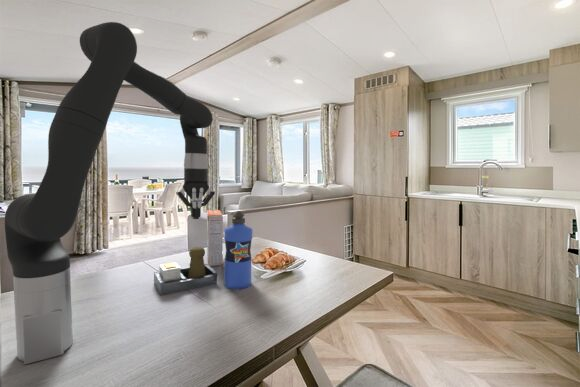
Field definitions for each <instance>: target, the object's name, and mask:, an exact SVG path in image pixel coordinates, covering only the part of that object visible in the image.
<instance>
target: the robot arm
mask: <svg viewBox="0 0 580 387" xmlns="http://www.w3.org/2000/svg"><path fill="white" fill-rule="evenodd" d="M79 47H80V48H81V51H82V52H83V55H84V56H85V57H86V58H87V60H89V61H90V64H89V67H88V68H87V69H86V71H85V72H84V74H83V75H82V76H81V78H79V80H78V81H77V82H76V83H75V84H74V85H73V86H72V87H71V88H70V90H69V91H68V92H67V93H66V94H65V96H64V97H63V99H62V100H61V102H60V103H59V105H58V106H57V110H56V112H55V115H54V117H53V119H52V121H51V124H50V127H49V130H48V135H47V137H48V139H47V140H48V141H47V143H48V144H47V146H48V148H47V149H48V150H47V152H48V153H47V154H48V155H47V156H48V158H47V166H46V170H45V172H44V176H43V178H42V179H41V182H40V184H39V187H38V188H37V190H36V192H35V193H27V194H23V195H20V196H18V197H16V198H15V199H13V201H11V202H10V204H9V205H8V206H7V208H6V210H5V213H4V214H5V215H4V232H5V242H6V244H5V245H6V252H7V253H6V254H7V258H8V261H9V263H10V265H11V268H12V278H13V279H12V280H13V282H12V283H13V296H14V297H13V298H14V299H13V300H14V321H15V337H16V353H17V354H16V355H17V359H18V360H19V361H21V362H23V365H28V364H33V363H35V362H40V361H43V360H48V359H51V358H55V357H59V356H62V355H64V352H66V350H68V349H69V348H70V347H71V346H72V345H73V344H74V343H73V342H74V339H73V338H74V336H73V335H74V334H73V332H74V331H73V310H72V309H73V308H72V285H71V284H72V283H71V280H72V279H71V258H70V254H69V253H68V251H67V250H66V249H65V248H64V245H63V243H62V241H61V238H62V237H65V235H67V234H68V233H69V232H70V230H71V229H72V228H73V226H74V224H75V221H76V219H77V215H78V211H79V207H80V203H81V198H82V195H83V190H84V188H85V187H84V186H85V183H86V180H87V176H88V175H89V172H90V169H91V166H92V163H93V161H94V159H95V156H96V153H97V150H98V147H99V146H100V143H101V141H102V138H103V135H104V133H105V130H106V128H107V124H108V121H109V118H110V115H111V113H112V111H113V109H114V106H115V103H116V100H117V97H118V95H119V91H120V89H121V87H122V85H123V83H124V82H126V83H128V84H130V85H131V86H133V87H135V88H136V89H138V90H140V91H141V92H142V93H144V94H146V95H148V96H149V97H151V98H152V99H154V100H155V101H156V102H157V103H159V104H160V105H161V106H163V107H164V108H165V109H167V110H168V111H169V112H171V113H172V114H174V115H176V116H177V115H178V116H179V123H180V128H181V131H182V135H183V140H184V161H183V170H184V172H183V174H184V175H183V185H182V188H181V189H180V190H179V191H178V190H177V191H176V193H175V194H176V195H177V197H178V198H179V199H180V201H182V203H183V204H184V205H185V206H187V207H189V208H190V216H191V218H192V219H193V220H199V219H200V218H201V216H202V215H201V213H202V212H201V208H202V207H206V206H207V205H208V203H210V201H211V199H212V198H213V196H215V194H216V193H215V191H214V190H212V189H211V188H210V186H209V183H208V181H209V180H208V179H209V178H208V177H209V176H208V174H209V173H208V172H209V169H208V168H209V164H208V163H209V162H208V140H207V138H206V137H205V136H202V135H199V131H198V129H206V128H209V127H210V126H211V125H212V123H213V118H214V117H213V114H212V112H211V110H210V108H208V106H206V105H205V104H204V103H202V102H200V101H199V100H197V99H195V98H194V97H191V96H188V95H187V94H186V93H185V92H184V91H182V90H181V89H180V88H179V87H178V86H177V85H176V84H174V83H173V82H172V81H171V80H169V79H167V78H166V77H164V76H162V75H159V74H158V73H156V72H154V71H151V70H149V69H147V68H145V67H143V66H142V65H141V64H139V63H137V61H135V59H136V58H137V54H138V43H137V40H136V37H135V34H134V33H133V31H132V30H131V29H130V28H129V27H128V26H126V24H123V23H121V22H118V21H117V22H116V21H108V22H107V21H106V22H102V23H98V24H97V25H96V24H95V25H93V26H90V27H88V28H86V29H84V30H83V31H82V32H81V33H80V37H79ZM186 194H187V197H189V200H188V199H187V197H186V196H185V195H186ZM203 197H204V198H203Z"/></svg>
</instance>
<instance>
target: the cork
mask: <svg viewBox="0 0 580 387" xmlns="http://www.w3.org/2000/svg"><path fill="white" fill-rule="evenodd" d="M188 252H189V254H188V255H189V258H190V263H189V267H190V268H189V276H188V279H192V278H198V277H203V276H206V274H205V266H204V264H205V260H204V257H205V255H206V254H205V253H206V251H205V248H204V247H201V246H194V247H192V248H190V249H189V251H188Z"/></svg>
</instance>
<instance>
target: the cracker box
mask: <svg viewBox="0 0 580 387" xmlns="http://www.w3.org/2000/svg"><path fill="white" fill-rule="evenodd" d="M223 218H224V217H223V214H222V212H221V210H220V209H209V210H206V245H207V246H206V247H207V249H206V251H207V252H206V253H207V254H206V255H207V262H208V264H207V265H209V266H210V267H217V266H220V267H221V266H223V265H224V264H223V261H224V260H223V254H222V251H223V249H224V246H223V238H224V237H223V236H224V233H223V231H224V230H223V224H224V222H223Z"/></svg>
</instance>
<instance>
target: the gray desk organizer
mask: <svg viewBox="0 0 580 387" xmlns="http://www.w3.org/2000/svg"><path fill="white" fill-rule="evenodd" d="M204 266H205V274H206V276H203V277H198V278H192V279H188V276H189V268H190V266H185V267H181V266H180V265H179V264H178V263H177V262H169V263H168V262H167V263H163V264H159V271H156V272H153V284H154V287H155V288H156V289H157V291H158V293H159V295H160V296H165V295H169V294H172V293H179V292H183V291H188V290H189V291H190V290H194V289H198V288H203V287H207V286H212V285H217V284H218V272H217V271H216V270H215V269H214V268H213V267H212V266H209V265H208V264H207V263H204Z"/></svg>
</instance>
